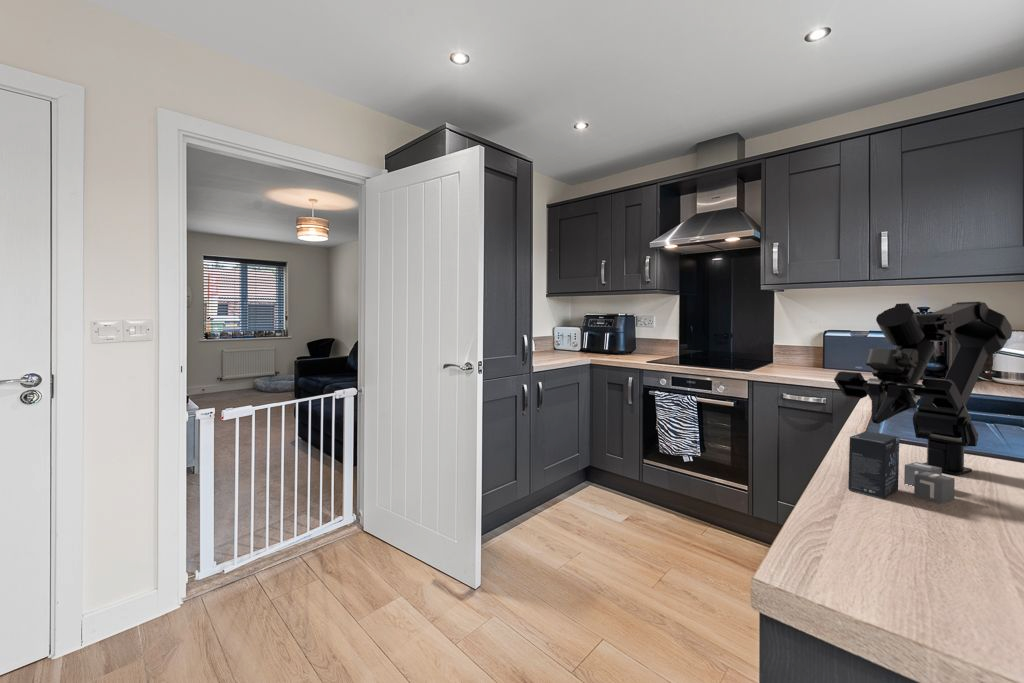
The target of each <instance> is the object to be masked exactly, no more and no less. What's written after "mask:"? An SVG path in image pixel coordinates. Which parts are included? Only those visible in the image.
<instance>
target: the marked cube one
mask: <svg viewBox="0 0 1024 683" xmlns="http://www.w3.org/2000/svg"><path fill="white" fill-rule="evenodd" d="M922 463H923V462H922ZM922 463H921V462H917V461H916V462H912V463H907V464H904V474H903V475H904V479H903V480H904V483H903V484H904V485H905V484H908V485H907V486H909V485H912V486H914V481H915V474H919V473H923V472H931V473H935V474H939V475H943V474H942V473H943V472H942V468H940V467H935V466H931V465H926V464H922ZM912 486H911V487H912Z"/></svg>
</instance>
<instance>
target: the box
mask: <svg viewBox="0 0 1024 683" xmlns="http://www.w3.org/2000/svg"><path fill="white" fill-rule="evenodd" d="M900 438H901V437H900V436H896V435H890V434H885V433H879V432H873V431H867V430H865V431H862V432H860V433H858V434H854V435H851V436H850V437H849V447H848V448H849V449H848V450H849V451H848V485H847V487H848V490H849V491H851V492H855V493H858V494H862V495H866V496H870V497H874V498H877V499H881V500H883V499H885V498H887V497H889V496H890V495H891V494H893V493H894V492H897V491H898V490H899V476H900V475H899V471H900V470H899V469H900V468H899V466H900V465H899V464H900V440H901V439H900Z"/></svg>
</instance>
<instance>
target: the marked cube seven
mask: <svg viewBox="0 0 1024 683" xmlns="http://www.w3.org/2000/svg"><path fill="white" fill-rule="evenodd" d="M955 479H956V478H955V477H951V476H948V475H947V476H946V475H943V474H942V475H939V474H935V473H931V472H923V473H919V474H915V481H914V487H913V488H914V489H913V491H914V494H913V495H914V496H915V497H919V498H923V499H926V500H929V501H931V502H936V503H940V504H945V503H947V502H951V501H954V500H955V483H956V482H955Z"/></svg>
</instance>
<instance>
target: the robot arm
mask: <svg viewBox="0 0 1024 683" xmlns="http://www.w3.org/2000/svg"><path fill="white" fill-rule="evenodd" d="M875 321H876V323H877V325H878V326H879V329H880V331H881V332H882V334H883V336H884V338H885V340H886V341H887V344H889V345H892V346H895V347H894V348H893V349H889V348H869V350H868V353H867V357H866V360H865V365H866V366H868V367H870V368H871V369H873V370H872V371H871V374H872V376H873V377H868V378H867V380H866V379H865V378H864V376H863V375H862V373H861V372H856V371H855V372H854V371H846V370H845V371H842V370H841V371H838V372H837V374H836V375H835V376H834V378H833V381H834V382H835V384H836V385H837V387H838V388H839V390H840V392H841V393H842V395H843V396H845V397H847V398H853V399H859V400H860V399H861V400H862V399H864V398H866V397H869V399H870V401H871V421H872V423H873V424H875V425H876V424H878V425H879V424H881V423H883V422H884V421H887V420H888V419H890V418H892V417H895V416H896V415H898V414H900V413H902V412H906V411H907V410H910V409H915V412H914V413H913V416H912V423H913V428H914V433H915V438H916V439H924V440H926V441H927V442H926V443H927V444H926V446H927V447H926V448H927V449H926V462H922V464H926V465H931V466H935V467H940V468H942V473H944V474H945V473H946V474H951V475H955V476H958V475H963V474H966V473H970V472H973V469H972V468H969V467H966V466H965V447H967V448H968V447H978V441H979V433H978V431H977V430H976V428H975V425H974V424H973V422H972V417H971V415H970V413H969V410H968V409H967V407H966V406H967V403H968V401H969V399H970V397H971V395H972V393H973V390H974V388H975V385H976V383H977V381H978V378H980V374H981V372H982V370H983V368H984V365H985V363H986V361H987V358H989V356H991V355H993V354H995V353H998V352H999V351H1001V350H1002V349H1003V348H1004V346H1005V345H1006V343H1007V342H1008V340H1010V339H1011V337H1012V336H1013V335H1012V334H1013V329H1012V325H1011V323H1010V322H1009V320H1008V318H1007V317H1006V315H1004V314H1002V313H1001V312H998V311H996V310H993V309H991V308H989V306H988V305H987V303H986V302H981V301H964V302H963V301H960V302H959V301H958V302H955V303H952V304H951V305H950V306H947V307H945V308H942V309H939V310H936V311H934V312H930V313H915V312H914V310H913V308H912V307H911V305H910V303H908V302H907V303H906V302H905V303H904V302H903V303H896V304H895V305H894V306H893V307H890V308H888V309H886V310H884V311H882V312H880V313H878V315H877V316H876V317H875ZM953 336H954V338H955V340H956V342H957V344H958V345H959V347H958V349H957V352H956V354H955V355H954V358H953V360H952V362H951V364H950V365H949V366H950V367H949V369H948V371H947V372H946V375H945V377H944V378H943V379H942V378H931V377H927V376H926V374H925V373H924V371H925V370H926V369H927V366H928V364H929V362H930V361H931V362H933V361H936V360H937V355H936V352H935V351H936V346H935V344H934V343H933V342H937V343H939V342H940V343H941V342H947V341H948V340H949V339H951V338H952V337H953ZM920 381H921V384H919V382H920ZM921 397H922V398H921ZM920 399H921V401H920V403H919V405H918V403H917V402H918V400H920Z"/></svg>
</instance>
